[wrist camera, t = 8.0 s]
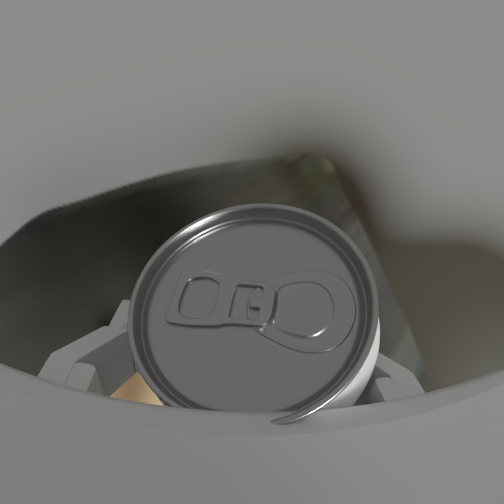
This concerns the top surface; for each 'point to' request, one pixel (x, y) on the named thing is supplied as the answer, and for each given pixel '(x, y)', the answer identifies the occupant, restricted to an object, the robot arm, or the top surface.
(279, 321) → the can
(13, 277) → the top surface
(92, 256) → the top surface
